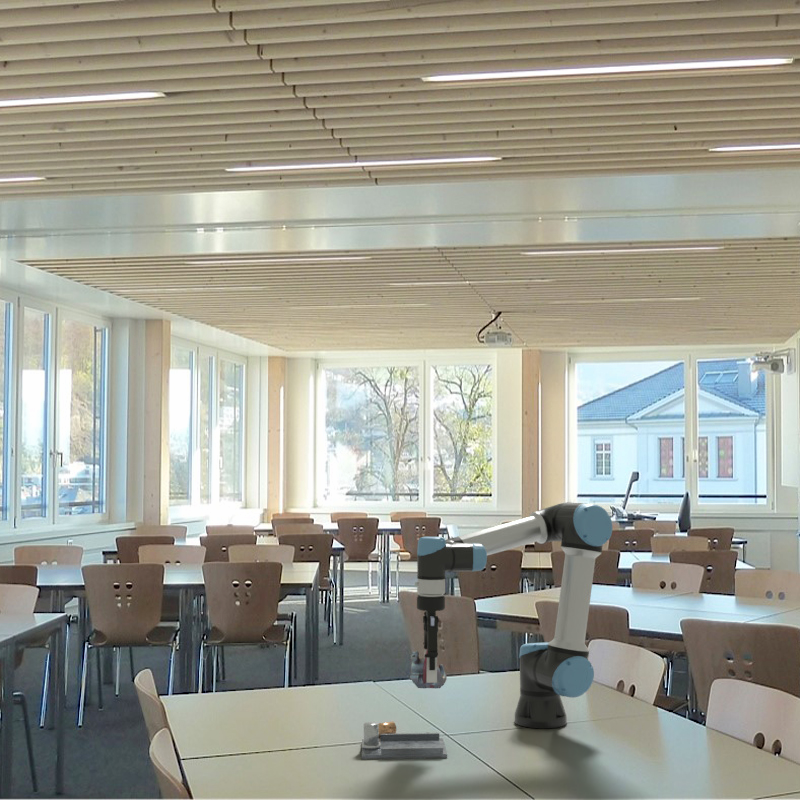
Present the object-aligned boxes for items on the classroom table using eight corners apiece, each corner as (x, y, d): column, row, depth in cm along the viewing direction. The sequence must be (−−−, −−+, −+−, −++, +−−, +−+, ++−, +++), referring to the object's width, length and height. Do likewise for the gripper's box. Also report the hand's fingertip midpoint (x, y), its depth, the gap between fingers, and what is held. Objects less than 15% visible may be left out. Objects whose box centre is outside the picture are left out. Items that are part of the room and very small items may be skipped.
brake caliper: (449, 681, 281) (422, 643, 283) (416, 705, 282) (390, 667, 285) (458, 674, 292) (432, 637, 294) (426, 697, 293) (400, 660, 296)
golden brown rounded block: (389, 732, 306) (389, 719, 306) (396, 736, 303) (396, 723, 303) (371, 735, 303) (371, 722, 303) (377, 739, 299) (378, 726, 300)
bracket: (442, 741, 295) (442, 715, 295) (447, 757, 279) (446, 730, 280) (361, 743, 294) (361, 717, 295) (361, 759, 278) (361, 731, 279)
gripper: (414, 589, 301) (413, 670, 300) (419, 599, 278) (418, 686, 276) (441, 590, 301) (440, 670, 300) (448, 600, 278) (447, 686, 277)
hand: (430, 678), depth 288 cm, fingers closed on brake caliper, 11 cm apart
